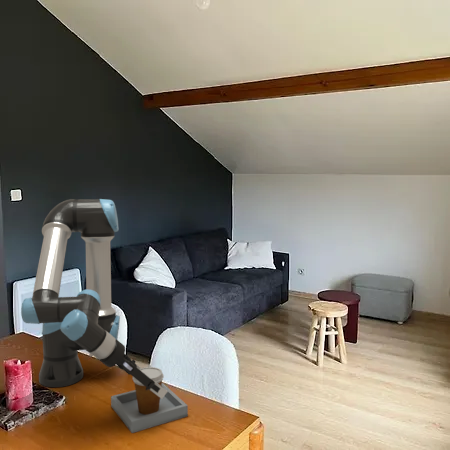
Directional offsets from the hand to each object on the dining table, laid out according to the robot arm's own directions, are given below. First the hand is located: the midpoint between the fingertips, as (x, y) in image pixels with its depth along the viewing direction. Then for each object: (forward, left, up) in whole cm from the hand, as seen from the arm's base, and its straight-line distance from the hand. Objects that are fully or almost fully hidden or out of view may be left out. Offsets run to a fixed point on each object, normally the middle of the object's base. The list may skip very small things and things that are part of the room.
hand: (155, 386), depth 148 cm
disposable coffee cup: (+1, -3, -7) cm, 7 cm away
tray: (0, -2, -8) cm, 8 cm away
